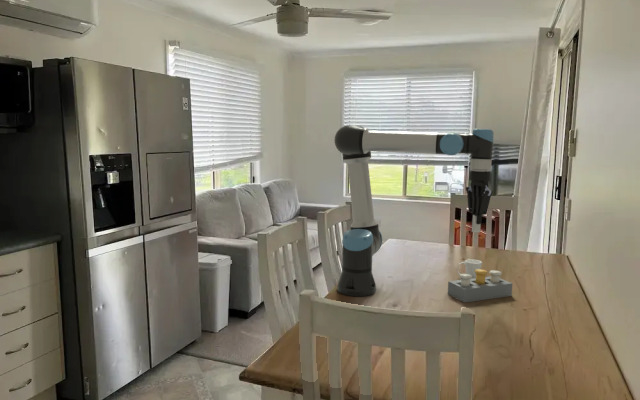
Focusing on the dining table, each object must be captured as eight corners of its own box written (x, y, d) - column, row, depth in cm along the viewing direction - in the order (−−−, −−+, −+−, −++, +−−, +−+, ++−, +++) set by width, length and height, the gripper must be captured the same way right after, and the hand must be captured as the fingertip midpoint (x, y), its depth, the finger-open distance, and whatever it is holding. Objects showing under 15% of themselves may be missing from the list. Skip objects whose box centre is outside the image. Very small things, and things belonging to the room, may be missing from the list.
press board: (464, 302, 171) (464, 289, 171) (447, 293, 181) (448, 281, 180) (511, 295, 179) (512, 283, 178) (493, 287, 188) (494, 275, 188)
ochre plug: (479, 289, 177) (480, 273, 176) (471, 286, 181) (472, 269, 180) (488, 288, 178) (489, 271, 177) (480, 285, 182) (481, 268, 181)
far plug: (493, 290, 179) (494, 274, 178) (486, 287, 183) (487, 270, 182) (502, 289, 181) (504, 273, 180) (495, 286, 185) (496, 269, 184)
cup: (480, 283, 195) (481, 264, 193) (455, 279, 198) (456, 261, 197) (481, 278, 201) (482, 260, 200) (457, 275, 205) (458, 257, 204)
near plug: (463, 294, 174) (464, 277, 173) (456, 290, 178) (457, 274, 178) (473, 293, 176) (474, 276, 175) (465, 289, 180) (466, 273, 179)
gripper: (500, 171, 170) (495, 234, 173) (477, 168, 182) (473, 228, 186) (483, 171, 168) (479, 236, 171) (461, 169, 180) (457, 229, 183)
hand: (475, 231), depth 178 cm, fingers closed
